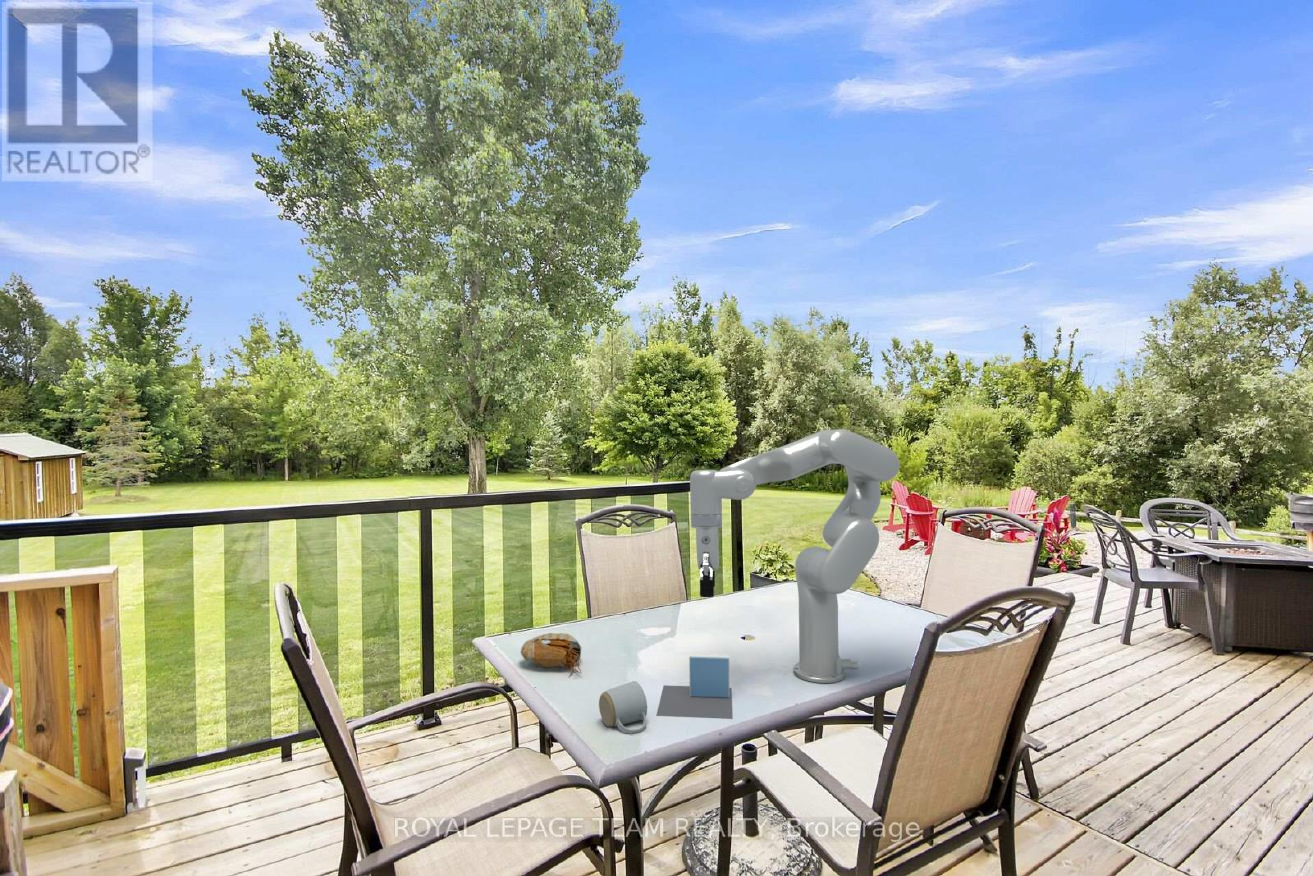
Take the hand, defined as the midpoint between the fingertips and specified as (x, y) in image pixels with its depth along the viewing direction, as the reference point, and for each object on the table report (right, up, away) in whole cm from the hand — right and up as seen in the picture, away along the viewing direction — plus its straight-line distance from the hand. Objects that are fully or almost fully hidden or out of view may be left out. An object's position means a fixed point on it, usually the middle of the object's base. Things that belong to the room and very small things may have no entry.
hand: (707, 591), depth 144 cm
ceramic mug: (-19, -22, -21) cm, 36 cm away
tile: (0, -22, -9) cm, 23 cm away
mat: (-4, -22, -11) cm, 25 cm away
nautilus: (-38, -23, +11) cm, 46 cm away
